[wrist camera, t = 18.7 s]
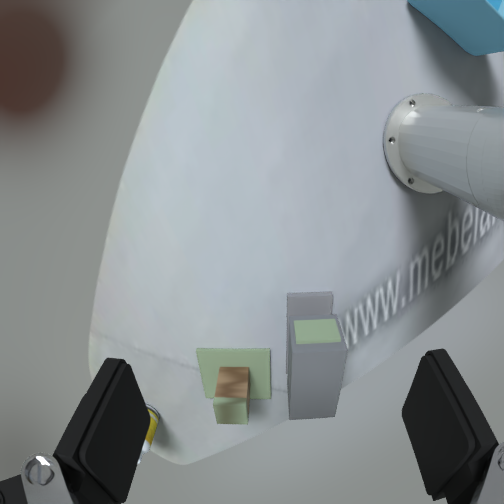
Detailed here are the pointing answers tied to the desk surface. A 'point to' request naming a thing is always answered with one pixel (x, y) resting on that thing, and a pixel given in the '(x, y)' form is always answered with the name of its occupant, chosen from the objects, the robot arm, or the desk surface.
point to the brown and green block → (232, 395)
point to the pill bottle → (150, 431)
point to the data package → (468, 22)
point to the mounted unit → (313, 356)
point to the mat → (236, 358)
